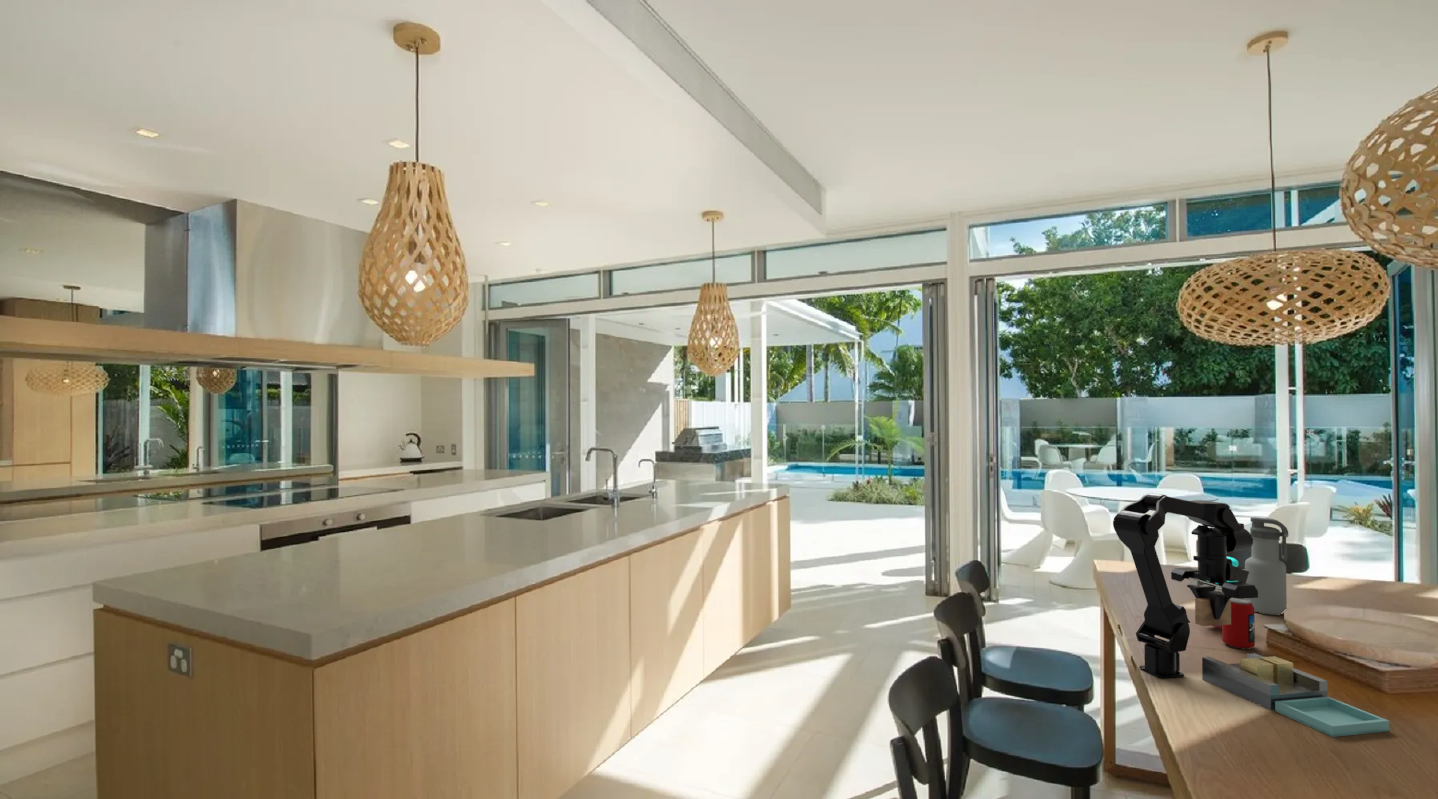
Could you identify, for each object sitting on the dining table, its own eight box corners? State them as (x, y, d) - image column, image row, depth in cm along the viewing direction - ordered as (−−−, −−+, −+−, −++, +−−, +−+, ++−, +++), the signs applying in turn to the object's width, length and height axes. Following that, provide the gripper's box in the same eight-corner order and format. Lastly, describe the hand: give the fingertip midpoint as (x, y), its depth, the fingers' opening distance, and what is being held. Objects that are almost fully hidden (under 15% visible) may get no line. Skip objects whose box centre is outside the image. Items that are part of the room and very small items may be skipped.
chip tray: (1332, 737, 127) (1332, 726, 127) (1275, 711, 138) (1275, 701, 138) (1389, 731, 129) (1388, 720, 129) (1328, 706, 140) (1328, 696, 140)
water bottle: (1285, 609, 207) (1284, 518, 207) (1291, 618, 198) (1290, 522, 199) (1243, 604, 212) (1242, 515, 213) (1247, 612, 204) (1246, 519, 204)
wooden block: (1202, 626, 162) (1202, 601, 162) (1195, 623, 164) (1195, 598, 164) (1231, 624, 164) (1230, 599, 164) (1223, 621, 166) (1223, 597, 166)
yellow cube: (1277, 683, 145) (1277, 664, 145) (1259, 675, 149) (1259, 657, 149) (1293, 681, 145) (1293, 663, 145) (1275, 674, 149) (1274, 656, 149)
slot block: (1270, 710, 138) (1270, 685, 138) (1202, 679, 154) (1202, 657, 154) (1327, 705, 141) (1327, 680, 141) (1254, 675, 156) (1254, 653, 157)
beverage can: (1260, 651, 172) (1260, 604, 172) (1230, 649, 173) (1230, 602, 173) (1245, 642, 178) (1245, 596, 178) (1216, 640, 180) (1216, 595, 180)
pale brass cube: (1257, 684, 144) (1257, 665, 144) (1240, 677, 148) (1239, 658, 148) (1273, 683, 144) (1273, 664, 144) (1255, 676, 148) (1255, 657, 148)
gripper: (1278, 560, 156) (1278, 628, 156) (1206, 544, 175) (1207, 605, 174) (1236, 562, 154) (1237, 631, 154) (1169, 546, 173) (1169, 607, 172)
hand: (1212, 617), depth 164 cm, fingers closed on wooden block, 2 cm apart
